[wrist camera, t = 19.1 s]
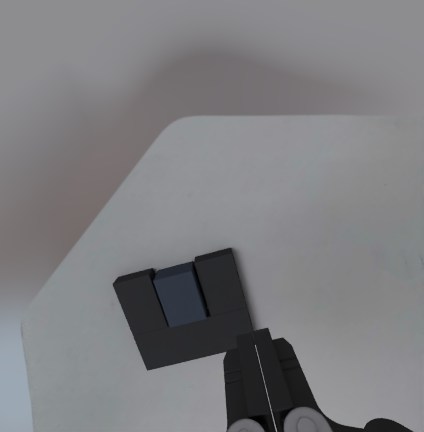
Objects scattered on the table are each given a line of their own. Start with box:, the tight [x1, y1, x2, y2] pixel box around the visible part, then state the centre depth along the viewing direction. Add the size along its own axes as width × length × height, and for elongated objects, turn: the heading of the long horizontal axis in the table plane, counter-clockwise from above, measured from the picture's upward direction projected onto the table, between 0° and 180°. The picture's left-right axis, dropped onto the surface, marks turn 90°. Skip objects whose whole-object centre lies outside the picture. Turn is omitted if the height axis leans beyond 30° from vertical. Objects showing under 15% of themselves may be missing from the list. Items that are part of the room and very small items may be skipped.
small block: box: [153, 261, 207, 328], centre depth 32 cm, size 7×5×3 cm
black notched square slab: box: [113, 248, 256, 371], centre depth 34 cm, size 14×16×2 cm
